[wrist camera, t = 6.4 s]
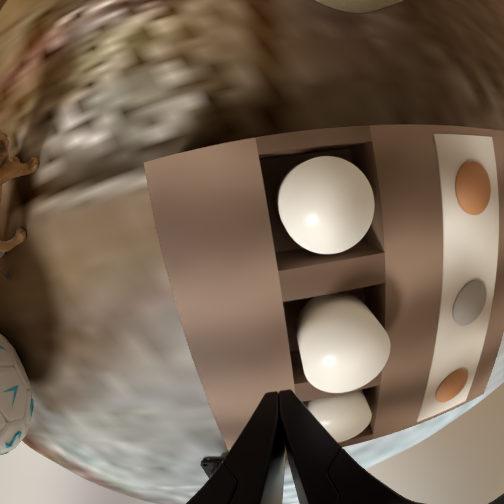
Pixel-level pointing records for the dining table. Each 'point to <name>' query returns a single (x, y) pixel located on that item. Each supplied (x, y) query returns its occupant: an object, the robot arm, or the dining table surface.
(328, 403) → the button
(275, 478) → the robot arm
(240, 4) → the dining table surface
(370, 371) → the button middle
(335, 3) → the plant pot
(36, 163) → the lion figurine
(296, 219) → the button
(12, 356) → the puzzle ball
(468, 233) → the button board
